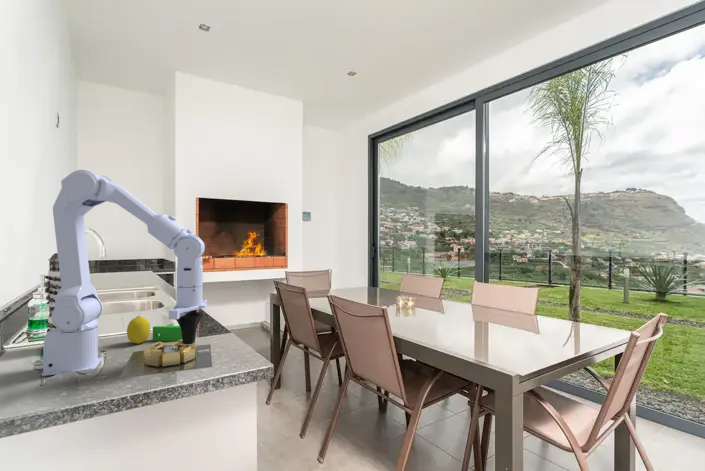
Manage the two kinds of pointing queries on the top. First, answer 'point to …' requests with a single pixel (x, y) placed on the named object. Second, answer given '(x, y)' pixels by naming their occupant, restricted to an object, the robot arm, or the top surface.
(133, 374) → the dark grey square slab
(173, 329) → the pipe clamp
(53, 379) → the top surface
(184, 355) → the tan segmented ring
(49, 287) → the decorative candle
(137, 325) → the lemon
